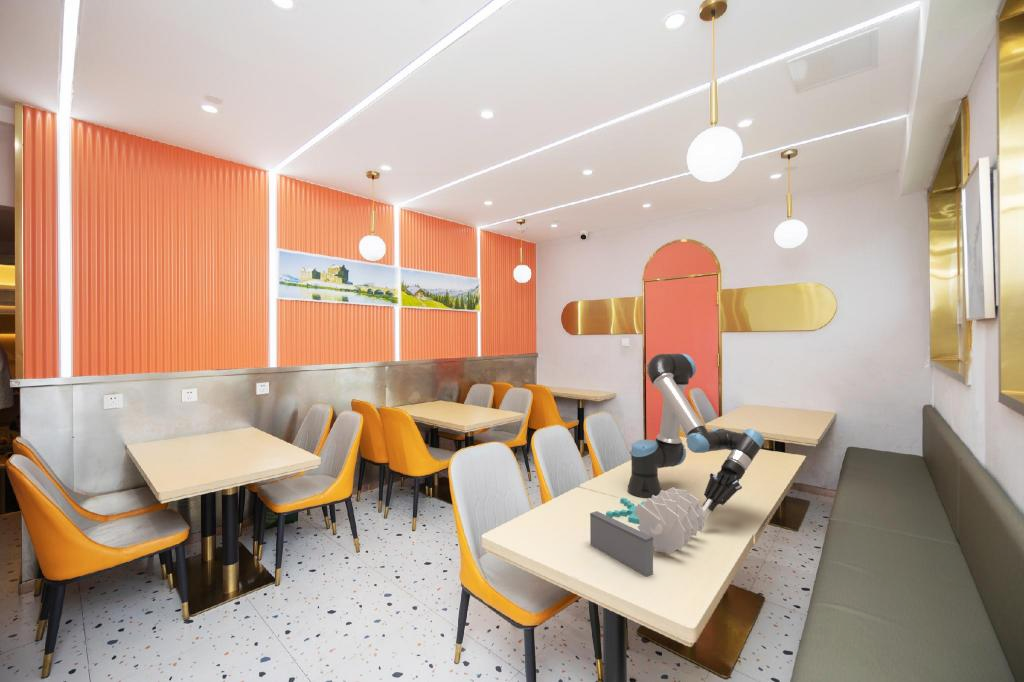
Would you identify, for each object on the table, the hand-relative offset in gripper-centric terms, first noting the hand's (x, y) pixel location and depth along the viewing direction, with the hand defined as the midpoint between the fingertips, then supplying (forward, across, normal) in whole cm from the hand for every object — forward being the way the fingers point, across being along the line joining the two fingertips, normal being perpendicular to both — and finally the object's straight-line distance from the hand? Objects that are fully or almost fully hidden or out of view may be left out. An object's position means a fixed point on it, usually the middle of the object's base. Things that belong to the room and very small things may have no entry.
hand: (702, 516), depth 156 cm
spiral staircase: (+16, -2, +7) cm, 18 cm away
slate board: (+32, -4, +23) cm, 40 cm away
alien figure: (+12, +24, +2) cm, 26 cm away
